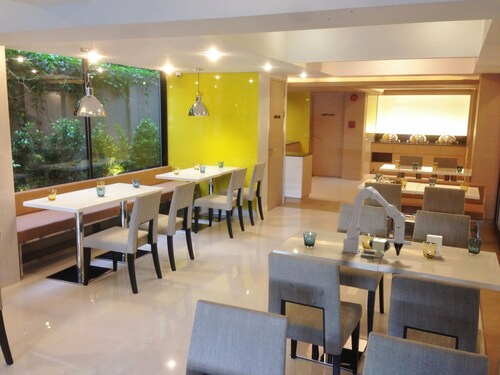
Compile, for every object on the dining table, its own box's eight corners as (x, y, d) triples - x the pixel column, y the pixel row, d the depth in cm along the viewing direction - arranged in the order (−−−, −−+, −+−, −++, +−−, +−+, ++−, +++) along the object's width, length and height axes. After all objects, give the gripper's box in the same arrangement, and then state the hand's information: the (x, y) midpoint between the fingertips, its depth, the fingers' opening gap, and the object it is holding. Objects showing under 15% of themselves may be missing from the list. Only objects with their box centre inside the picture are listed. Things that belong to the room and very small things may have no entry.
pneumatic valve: (386, 259, 275) (388, 240, 273) (368, 256, 282) (369, 237, 280) (389, 257, 280) (391, 238, 278) (371, 254, 286) (372, 235, 285)
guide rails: (360, 256, 280) (360, 254, 280) (363, 252, 290) (363, 249, 290) (373, 258, 277) (373, 256, 277) (376, 253, 287) (376, 251, 287)
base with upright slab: (441, 253, 290) (442, 235, 288) (440, 257, 282) (442, 238, 280) (426, 251, 294) (427, 233, 292) (425, 255, 286) (426, 236, 284)
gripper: (386, 233, 273) (384, 255, 275) (411, 236, 267) (409, 258, 269) (387, 231, 280) (386, 252, 282) (412, 233, 274) (410, 255, 276)
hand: (397, 255), depth 276 cm, fingers closed
